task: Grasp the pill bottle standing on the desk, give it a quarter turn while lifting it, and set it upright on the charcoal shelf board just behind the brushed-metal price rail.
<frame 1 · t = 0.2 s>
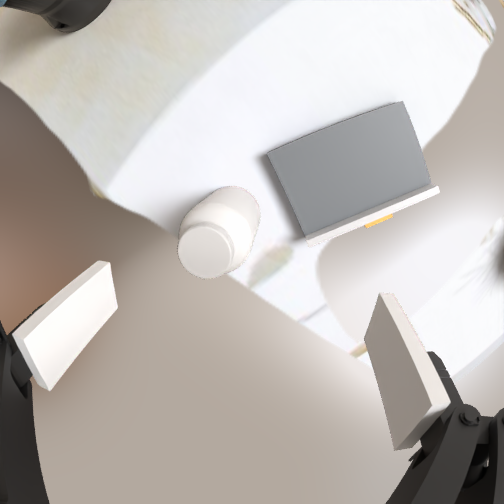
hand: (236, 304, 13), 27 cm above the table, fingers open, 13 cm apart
shelf: (354, 168, 35), on the table
pill bottle: (232, 212, 39), on the table
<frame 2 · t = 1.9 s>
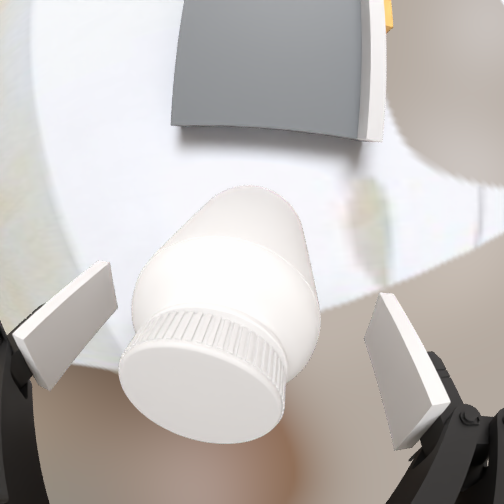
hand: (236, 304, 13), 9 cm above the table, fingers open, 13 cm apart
shelf: (279, 7, 14), on the table
pill bottle: (249, 235, 21), on the table
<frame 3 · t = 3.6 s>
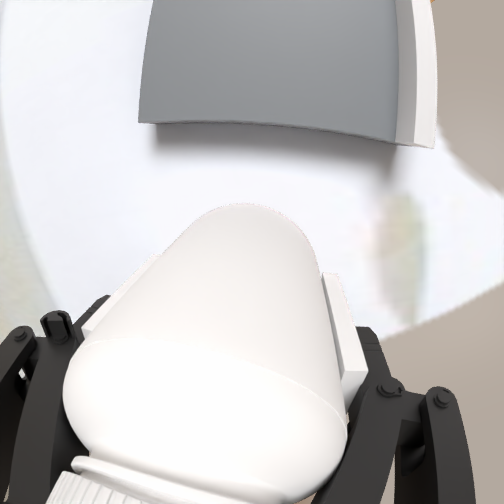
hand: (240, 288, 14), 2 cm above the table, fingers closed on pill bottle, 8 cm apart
pill bottle: (246, 267, 16), on the table, touching gripper
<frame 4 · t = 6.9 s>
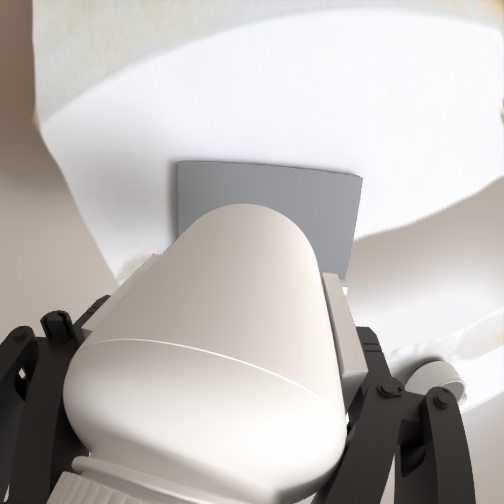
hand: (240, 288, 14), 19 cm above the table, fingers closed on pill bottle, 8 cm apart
teacup: (430, 374, 40), on the table
shelf: (266, 221, 32), on the table
pill bottle: (246, 268, 16), point 17 cm above the table, touching gripper
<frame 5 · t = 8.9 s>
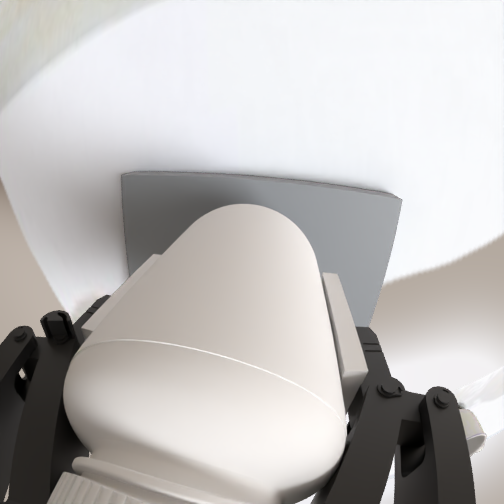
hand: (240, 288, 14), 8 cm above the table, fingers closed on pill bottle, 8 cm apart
teacup: (447, 420, 30), on the table
shelf: (253, 259, 22), on the table
pill bottle: (246, 268, 16), point 5 cm above the table, touching gripper
when the fingers open (6 cm above the table, at t = 10.3 s): pill bottle drops 1 cm, resting on shelf.
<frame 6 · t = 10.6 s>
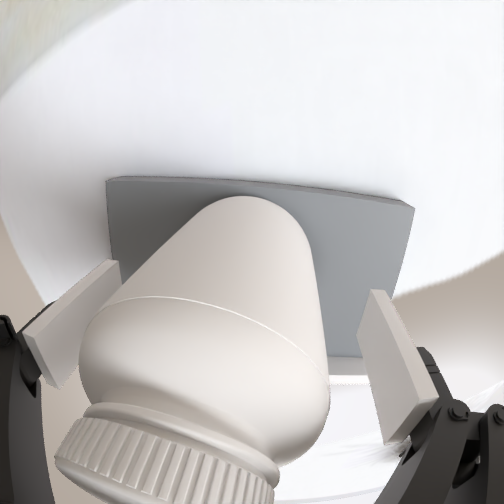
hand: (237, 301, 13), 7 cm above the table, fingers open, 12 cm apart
shelf: (250, 273, 20), on the table
pill bottle: (246, 256, 18), point 2 cm above the table, touching shelf
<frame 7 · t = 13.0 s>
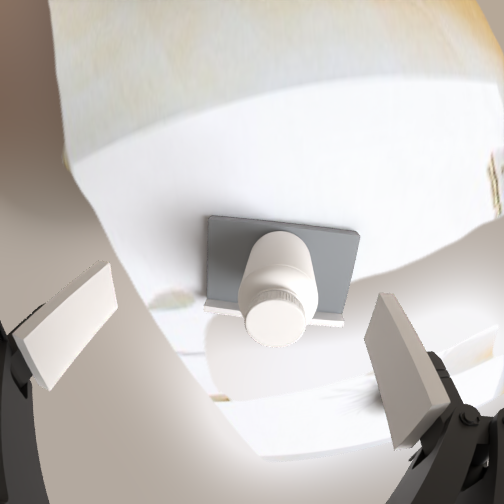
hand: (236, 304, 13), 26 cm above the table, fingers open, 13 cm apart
shelf: (280, 267, 40), on the table
pill bottle: (280, 258, 37), point 2 cm above the table, touching shelf
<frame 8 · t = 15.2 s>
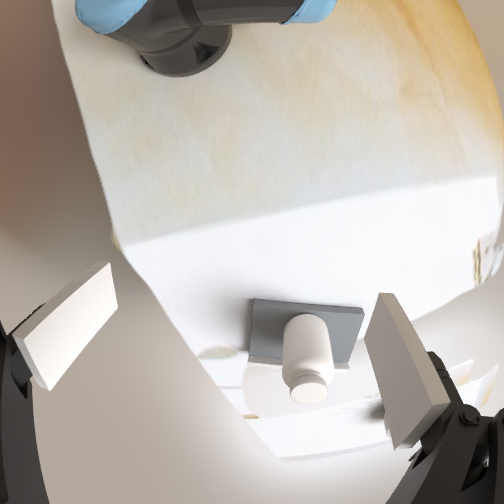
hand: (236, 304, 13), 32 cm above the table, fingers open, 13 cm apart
shelf: (304, 332, 51), on the table
pill bottle: (305, 329, 49), point 2 cm above the table, touching shelf
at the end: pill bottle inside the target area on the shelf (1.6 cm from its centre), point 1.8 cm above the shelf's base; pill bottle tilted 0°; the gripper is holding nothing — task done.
